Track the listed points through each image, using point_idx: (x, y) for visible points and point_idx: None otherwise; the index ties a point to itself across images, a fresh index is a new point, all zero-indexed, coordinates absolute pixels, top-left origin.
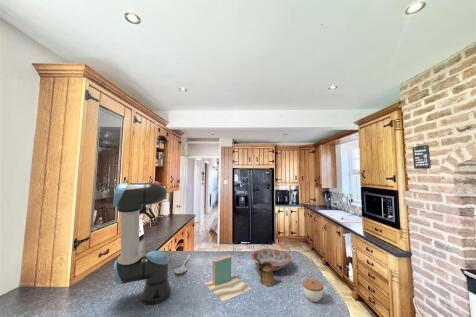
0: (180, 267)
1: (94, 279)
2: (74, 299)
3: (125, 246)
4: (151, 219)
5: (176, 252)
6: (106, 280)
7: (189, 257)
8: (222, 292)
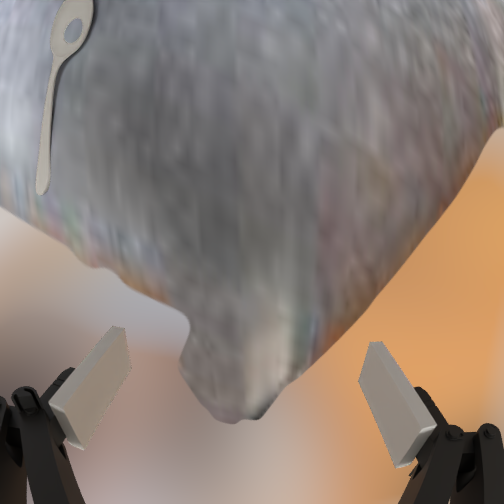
0: (68, 54)
1: (448, 125)
2: (474, 11)
3: None
4: (36, 397)
5: (94, 252)
6: (408, 79)
7: (38, 165)
8: None
